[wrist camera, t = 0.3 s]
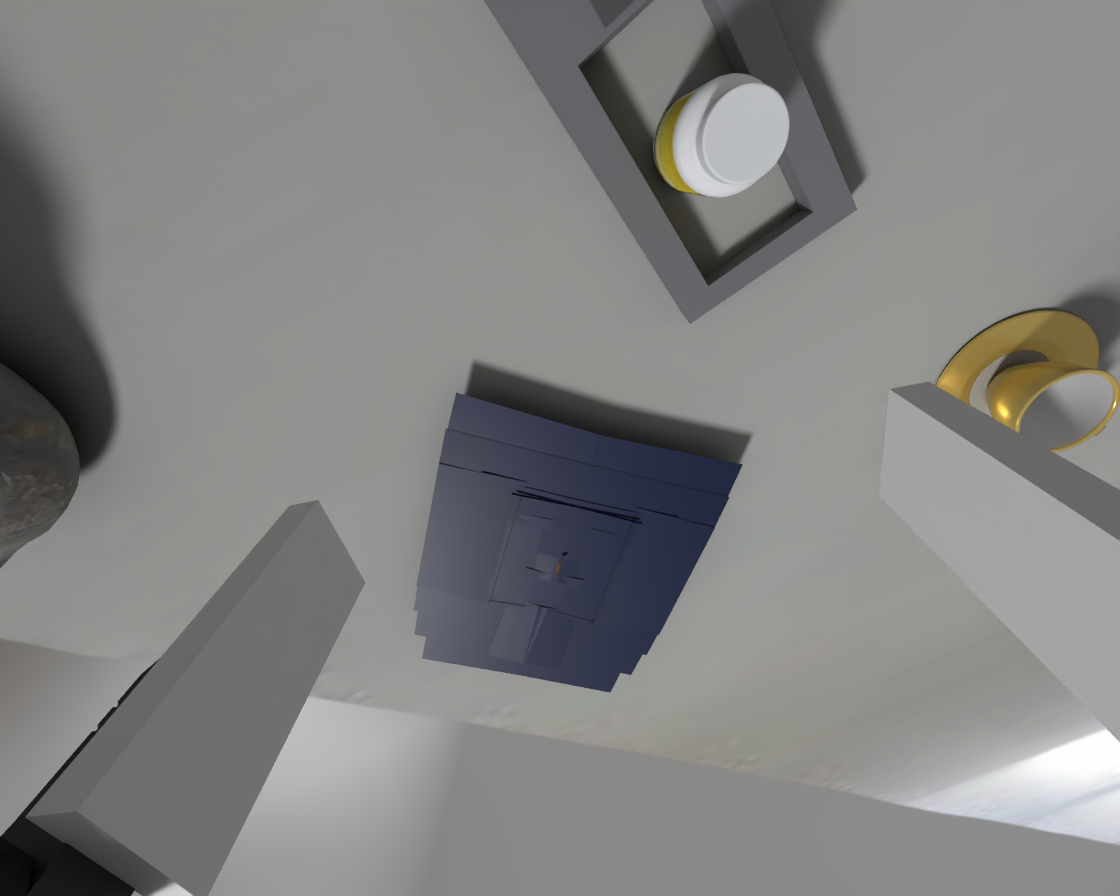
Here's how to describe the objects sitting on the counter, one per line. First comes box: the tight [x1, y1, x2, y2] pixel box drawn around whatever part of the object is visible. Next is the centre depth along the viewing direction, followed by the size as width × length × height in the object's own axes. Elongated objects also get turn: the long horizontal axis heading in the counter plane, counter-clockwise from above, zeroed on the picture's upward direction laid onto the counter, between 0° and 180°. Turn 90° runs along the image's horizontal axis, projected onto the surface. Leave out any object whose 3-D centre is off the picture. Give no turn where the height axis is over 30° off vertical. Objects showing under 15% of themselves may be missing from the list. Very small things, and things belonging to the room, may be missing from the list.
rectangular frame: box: [484, 0, 857, 324], centre depth 27 cm, size 30×12×3 cm, turn 37°
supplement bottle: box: [653, 73, 790, 197], centre depth 27 cm, size 5×5×10 cm
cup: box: [936, 310, 1120, 453], centre depth 36 cm, size 12×12×5 cm
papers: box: [414, 393, 742, 692], centre depth 46 cm, size 24×30×4 cm
